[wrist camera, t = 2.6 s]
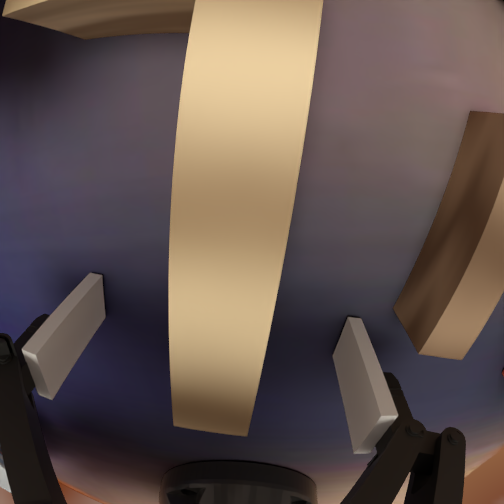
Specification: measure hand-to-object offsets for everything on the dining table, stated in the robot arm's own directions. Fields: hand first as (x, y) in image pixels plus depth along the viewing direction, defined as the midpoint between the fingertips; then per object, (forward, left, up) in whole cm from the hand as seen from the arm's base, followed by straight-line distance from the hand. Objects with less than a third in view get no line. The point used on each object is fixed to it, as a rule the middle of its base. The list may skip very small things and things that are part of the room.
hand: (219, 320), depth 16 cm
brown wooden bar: (+7, -11, 0) cm, 13 cm away
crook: (+7, +3, 0) cm, 8 cm away
